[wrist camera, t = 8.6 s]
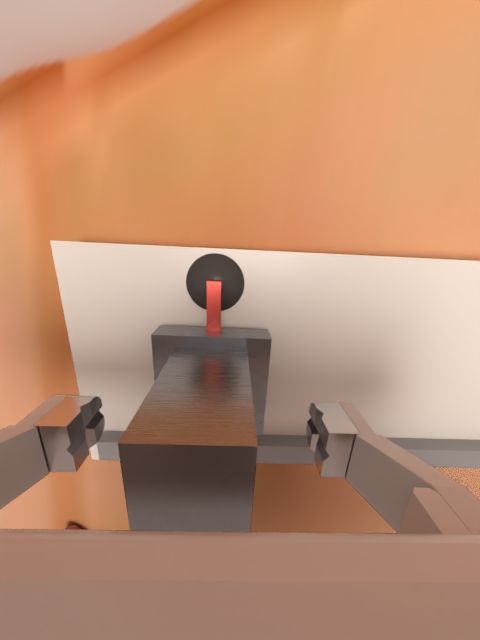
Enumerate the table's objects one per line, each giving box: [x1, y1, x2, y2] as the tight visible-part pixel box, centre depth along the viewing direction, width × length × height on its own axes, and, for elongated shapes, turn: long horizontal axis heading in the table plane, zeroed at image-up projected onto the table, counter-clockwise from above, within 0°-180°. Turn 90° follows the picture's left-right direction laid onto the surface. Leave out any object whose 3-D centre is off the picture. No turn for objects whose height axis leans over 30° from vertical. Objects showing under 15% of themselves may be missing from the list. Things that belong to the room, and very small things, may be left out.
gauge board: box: [50, 241, 480, 468], centre depth 10 cm, size 26×12×8 cm, turn 87°
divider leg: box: [118, 280, 272, 532], centre depth 8 cm, size 5×7×6 cm
